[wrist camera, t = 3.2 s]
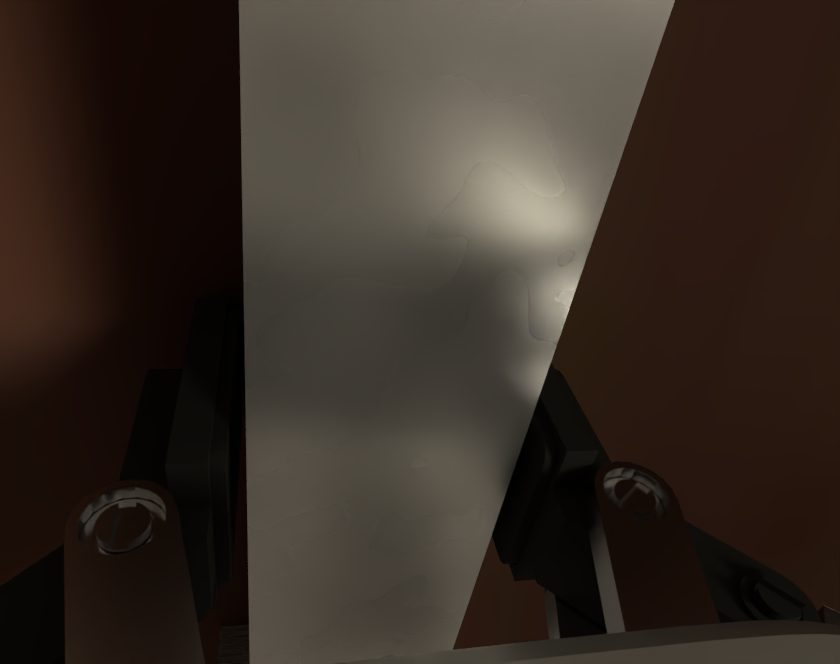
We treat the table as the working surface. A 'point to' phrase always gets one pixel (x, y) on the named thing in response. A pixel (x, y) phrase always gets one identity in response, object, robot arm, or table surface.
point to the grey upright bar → (408, 290)
